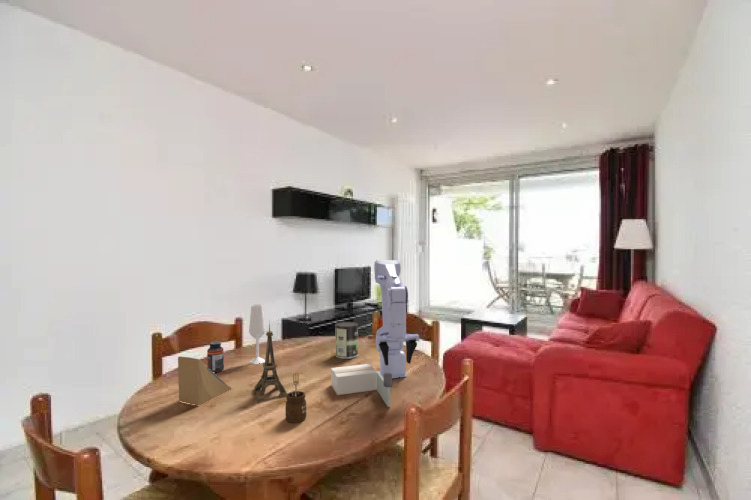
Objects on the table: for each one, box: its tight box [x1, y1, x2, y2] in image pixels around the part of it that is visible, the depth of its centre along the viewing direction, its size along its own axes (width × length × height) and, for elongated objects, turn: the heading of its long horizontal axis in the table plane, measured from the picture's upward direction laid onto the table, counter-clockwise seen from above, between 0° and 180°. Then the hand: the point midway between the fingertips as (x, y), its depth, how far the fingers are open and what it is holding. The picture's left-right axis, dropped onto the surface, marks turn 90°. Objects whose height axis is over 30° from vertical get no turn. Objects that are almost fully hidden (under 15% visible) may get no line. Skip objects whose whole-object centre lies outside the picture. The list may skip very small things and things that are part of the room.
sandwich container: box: [177, 356, 233, 406], centre depth 127 cm, size 9×15×15 cm, turn 159°
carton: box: [330, 363, 377, 396], centre depth 134 cm, size 14×10×6 cm
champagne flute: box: [248, 303, 267, 365], centre depth 162 cm, size 7×7×24 cm
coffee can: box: [334, 321, 359, 360], centre depth 171 cm, size 10×10×14 cm
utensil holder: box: [284, 373, 307, 423], centre depth 110 cm, size 6×6×12 cm
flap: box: [376, 372, 393, 408], centre depth 124 cm, size 14×3×10 cm, turn 14°
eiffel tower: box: [251, 319, 289, 403], centre depth 128 cm, size 11×11×25 cm
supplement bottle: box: [206, 340, 225, 373], centre depth 151 cm, size 6×6×11 cm
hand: (397, 363), depth 127 cm, fingers open, 7 cm apart
